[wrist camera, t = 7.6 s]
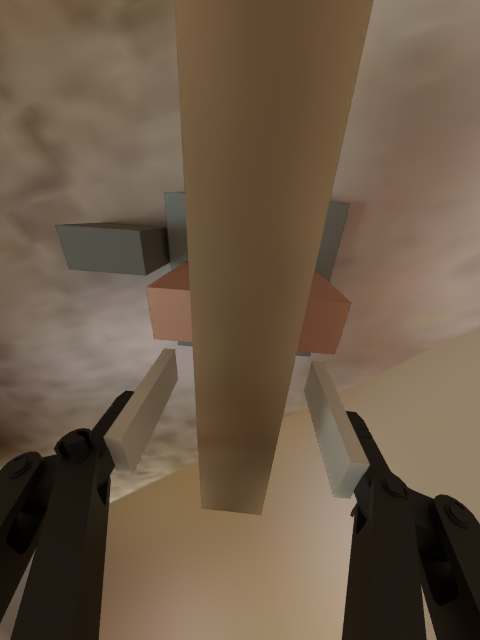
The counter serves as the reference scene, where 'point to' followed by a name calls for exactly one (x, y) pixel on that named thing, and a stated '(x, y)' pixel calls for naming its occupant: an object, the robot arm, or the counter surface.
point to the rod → (256, 210)
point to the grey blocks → (114, 247)
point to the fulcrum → (323, 302)
